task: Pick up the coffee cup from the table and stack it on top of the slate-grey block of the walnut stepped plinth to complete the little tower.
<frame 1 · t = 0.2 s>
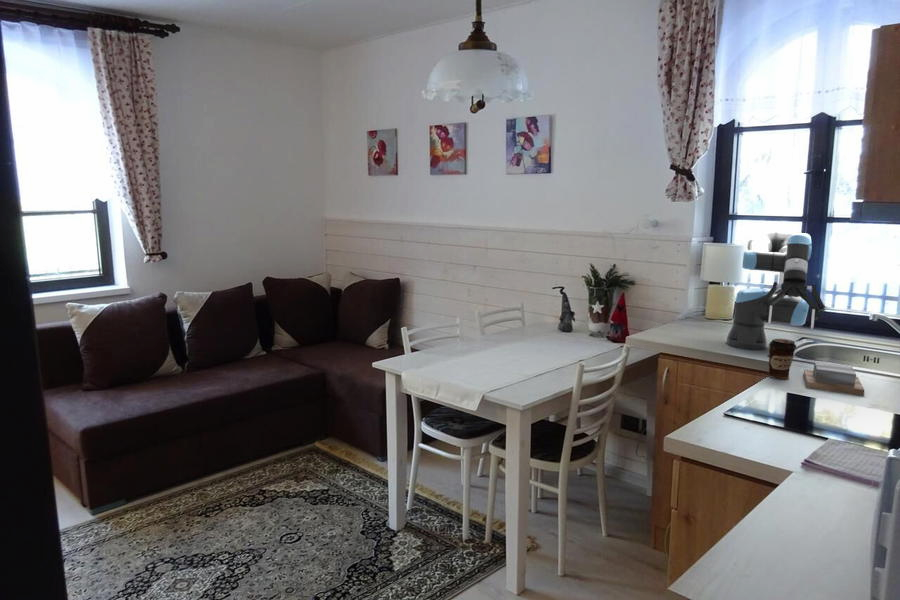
hand: (790, 325, 232), 16 cm above the table, tool tilted 35°, fingers open, 13 cm apart
stepped plinth: (832, 384, 216), on the table
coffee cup: (778, 377, 222), on the table
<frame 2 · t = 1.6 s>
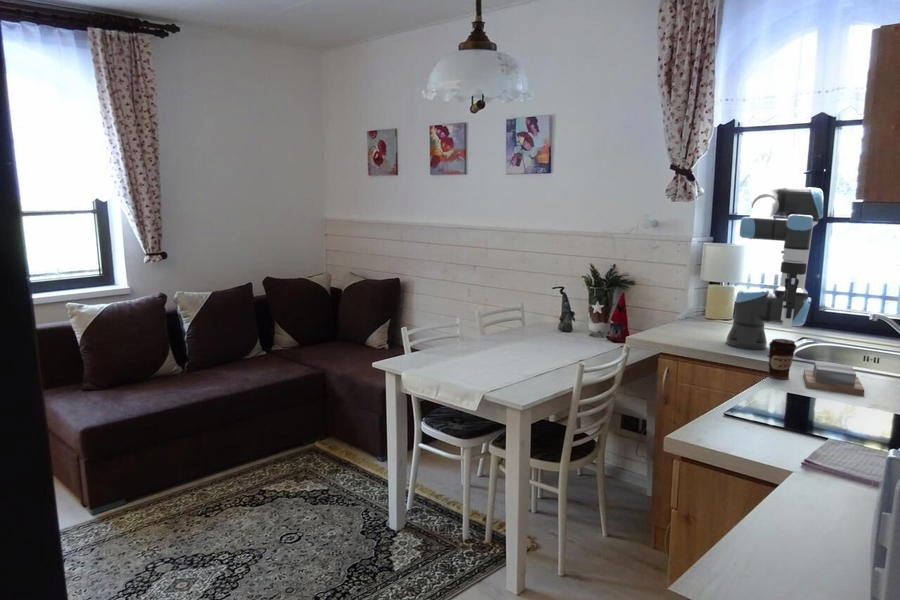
hand: (785, 324, 219), 19 cm above the table, tool pointing down, fingers open, 13 cm apart
nothing on the table moved.
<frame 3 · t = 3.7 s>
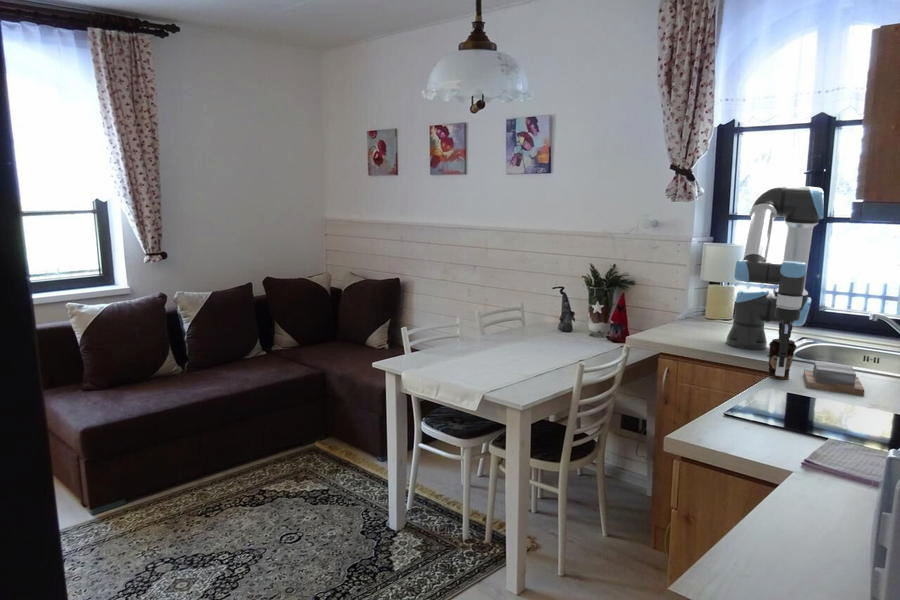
hand: (779, 372, 222), 2 cm above the table, tool pointing down, fingers closed on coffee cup, 8 cm apart
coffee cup: (778, 377, 222), on the table, touching gripper
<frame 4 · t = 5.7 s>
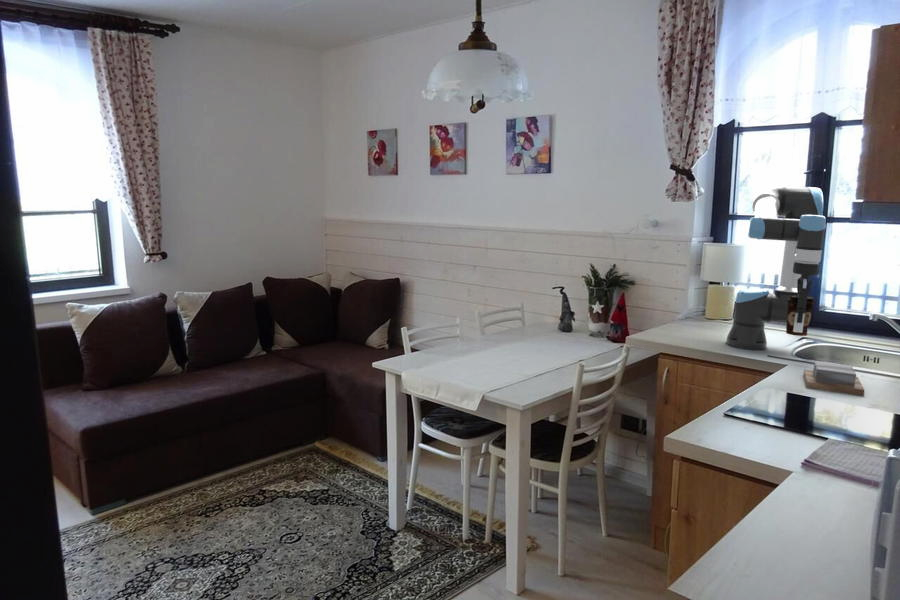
hand: (797, 329, 217), 17 cm above the table, tool pointing down, fingers closed on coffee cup, 8 cm apart
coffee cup: (796, 335, 218), point 15 cm above the table, touching gripper
when the fingers open (9 cm above the table, at t = 7.8 s): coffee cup drops 1 cm, resting on stepped plinth.
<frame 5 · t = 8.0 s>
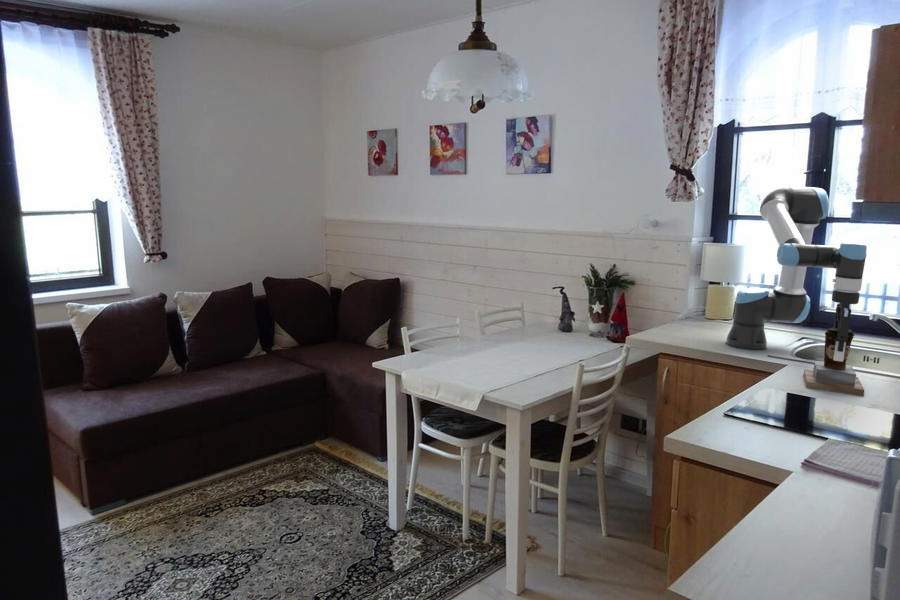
hand: (836, 356, 214), 10 cm above the table, tool pointing down, fingers open, 10 cm apart
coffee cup: (834, 368, 214), point 6 cm above the table, touching stepped plinth
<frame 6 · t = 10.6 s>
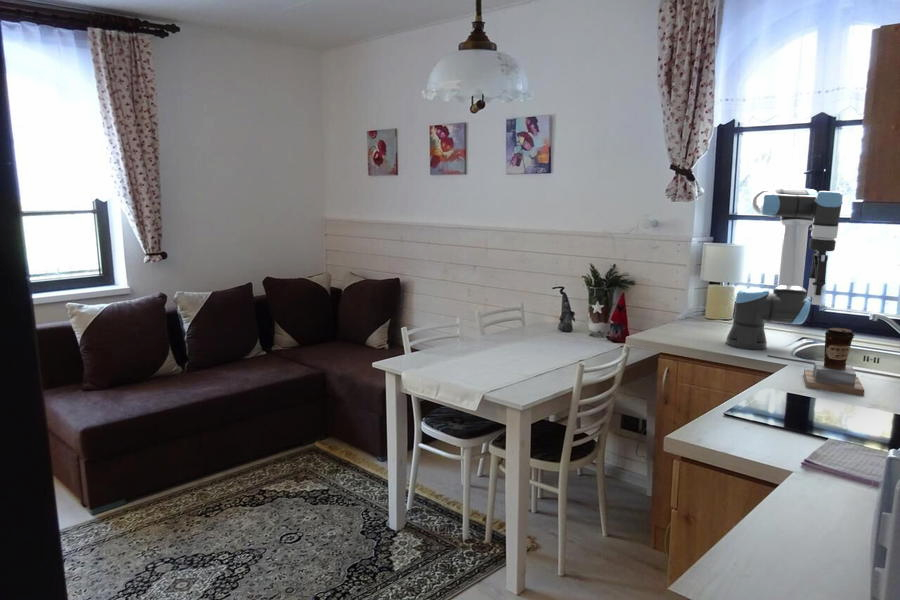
hand: (813, 300, 220), 27 cm above the table, tool pointing down, fingers open, 13 cm apart
nothing on the table moved.
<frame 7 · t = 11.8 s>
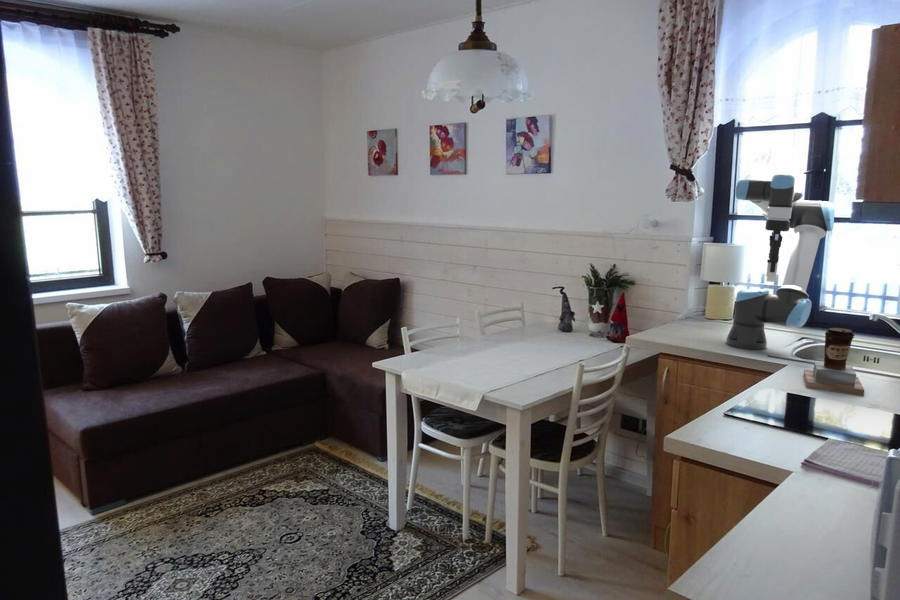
hand: (770, 279, 231), 32 cm above the table, tool pointing down, fingers open, 13 cm apart
nothing on the table moved.
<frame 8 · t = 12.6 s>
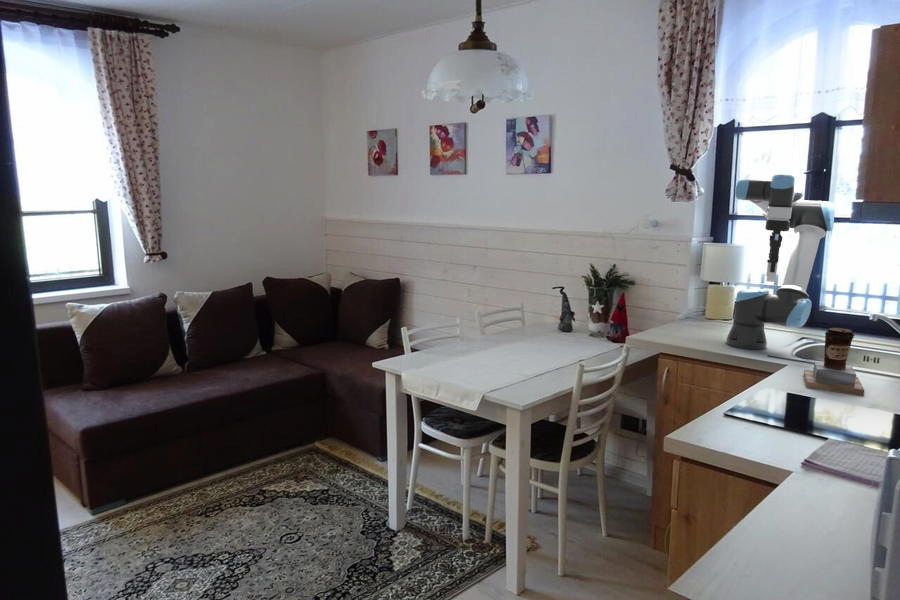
hand: (770, 279, 231), 32 cm above the table, tool pointing down, fingers open, 13 cm apart
nothing on the table moved.
at the end: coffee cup 0.1 cm off-centre on the stepped plinth, point 5.8 cm above the stepped plinth's base; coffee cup tilted 0°; the gripper is holding nothing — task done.
